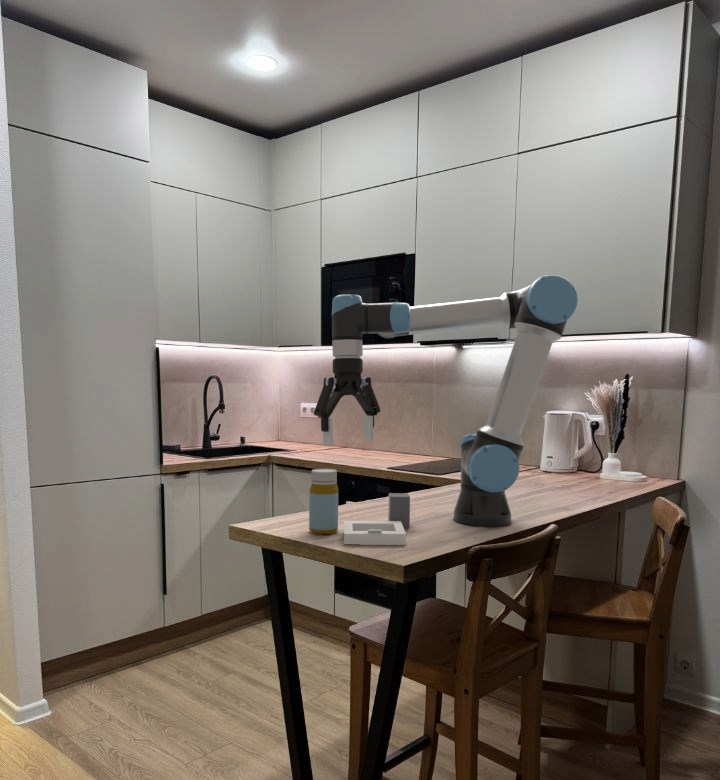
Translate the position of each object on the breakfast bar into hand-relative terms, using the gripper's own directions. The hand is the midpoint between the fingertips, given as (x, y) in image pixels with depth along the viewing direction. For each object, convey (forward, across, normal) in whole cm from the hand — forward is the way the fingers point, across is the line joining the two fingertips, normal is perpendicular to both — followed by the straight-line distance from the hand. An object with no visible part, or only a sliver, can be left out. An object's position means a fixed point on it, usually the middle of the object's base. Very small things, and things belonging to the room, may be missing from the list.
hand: (348, 443), depth 154 cm
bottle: (+22, +7, -2) cm, 23 cm away
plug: (+22, -12, +6) cm, 25 cm away
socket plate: (+22, +2, +10) cm, 24 cm away
